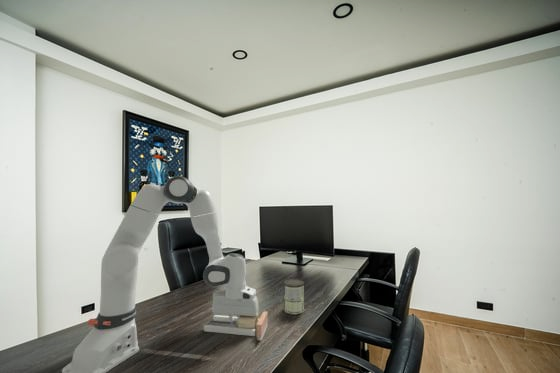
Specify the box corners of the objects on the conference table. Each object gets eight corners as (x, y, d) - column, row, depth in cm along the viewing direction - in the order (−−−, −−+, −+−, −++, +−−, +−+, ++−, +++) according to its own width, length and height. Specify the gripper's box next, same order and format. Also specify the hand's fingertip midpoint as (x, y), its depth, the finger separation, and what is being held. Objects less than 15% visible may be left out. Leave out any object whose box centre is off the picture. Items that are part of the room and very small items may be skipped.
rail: (261, 340, 94) (261, 324, 95) (200, 334, 98) (201, 319, 99) (267, 325, 106) (267, 311, 107) (213, 320, 110) (213, 307, 111)
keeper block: (253, 333, 97) (254, 320, 98) (237, 332, 99) (237, 319, 99) (258, 325, 104) (258, 313, 105) (242, 323, 105) (243, 312, 106)
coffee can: (280, 307, 125) (281, 280, 126) (298, 304, 129) (298, 278, 130) (288, 315, 116) (288, 286, 117) (307, 312, 119) (307, 283, 120)
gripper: (210, 292, 102) (209, 325, 101) (255, 295, 99) (255, 330, 98) (216, 287, 109) (215, 318, 107) (259, 290, 105) (259, 322, 104)
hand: (234, 324), depth 103 cm, fingers closed
